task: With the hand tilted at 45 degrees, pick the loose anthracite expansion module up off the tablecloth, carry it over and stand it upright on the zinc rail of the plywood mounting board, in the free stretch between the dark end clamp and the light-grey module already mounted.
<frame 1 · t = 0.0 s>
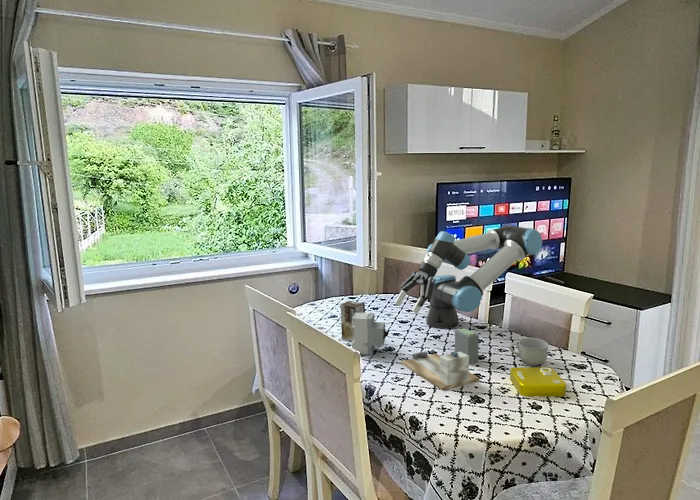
hand: (405, 308, 214), 15 cm above the table, tool tilted 35°, fingers open, 13 cm apart
rail plate: (438, 371, 187), on the table
circuit breaker: (370, 351, 209), on the table
element tile: (536, 388, 174), on the table
coffee box: (353, 339, 223), on the table
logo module: (466, 359, 198), on the table
teacup: (527, 362, 195), on the table
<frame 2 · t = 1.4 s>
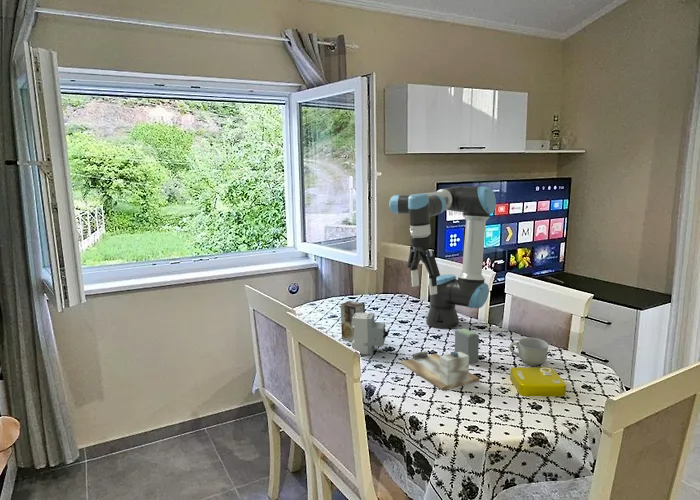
hand: (424, 290, 195), 28 cm above the table, tool pointing down, fingers open, 13 cm apart
nothing on the table moved.
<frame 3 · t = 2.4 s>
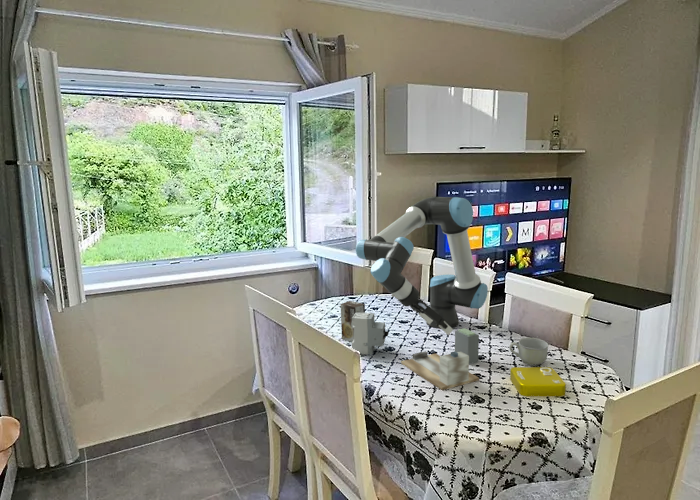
hand: (440, 326, 191), 15 cm above the table, tool tilted 45°, fingers open, 13 cm apart
nothing on the table moved.
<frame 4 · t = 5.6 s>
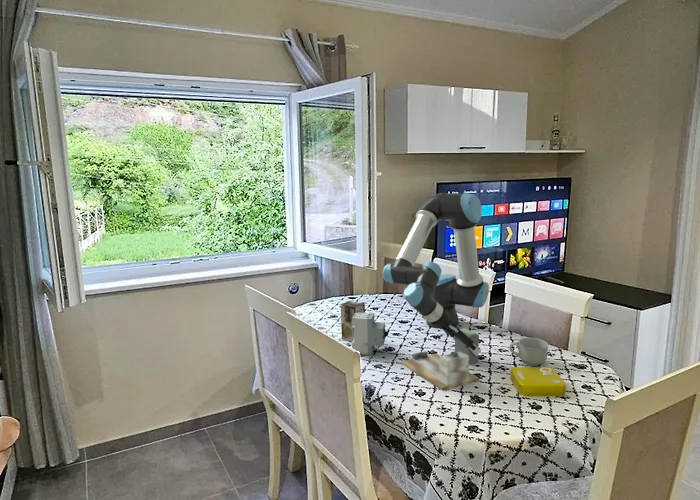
hand: (471, 349, 198), 4 cm above the table, tool tilted 45°, fingers closed on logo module, 8 cm apart
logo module: (466, 359, 198), on the table, touching gripper
everything else where it was.
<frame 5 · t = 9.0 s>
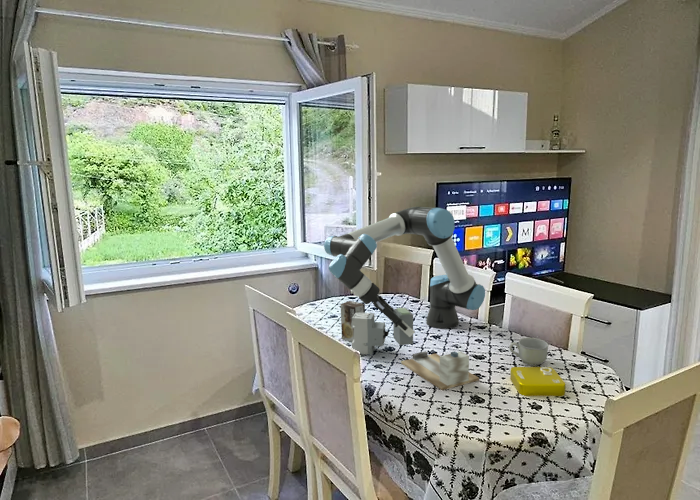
hand: (409, 330, 186), 16 cm above the table, tool tilted 45°, fingers closed on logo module, 8 cm apart
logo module: (403, 340, 186), point 12 cm above the table, touching gripper
everything else where it was.
when the fingers open (6 cm above the table, at t = 12.4 s): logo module stays where it is, resting on rail plate.
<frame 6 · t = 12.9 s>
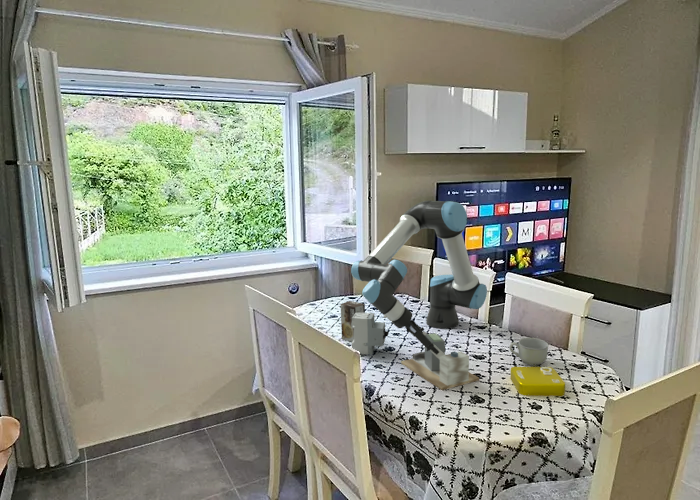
hand: (438, 351, 189), 7 cm above the table, tool tilted 45°, fingers open, 13 cm apart
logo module: (434, 366, 189), point 1 cm above the table, touching rail plate
everything else where it was.
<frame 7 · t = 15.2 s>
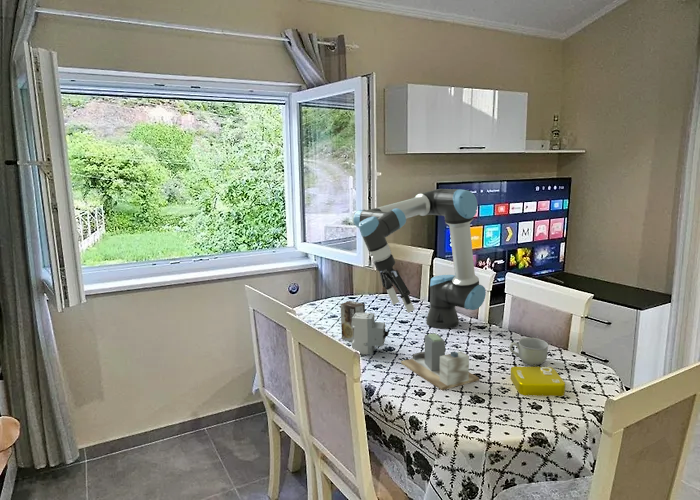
hand: (403, 306, 194), 22 cm above the table, tool tilted 20°, fingers open, 13 cm apart
nothing on the table moved.
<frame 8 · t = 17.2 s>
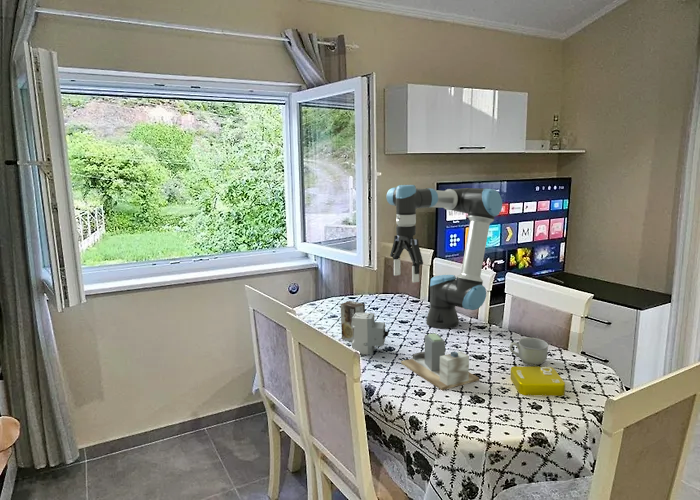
hand: (406, 278, 201), 31 cm above the table, tool pointing down, fingers open, 13 cm apart
nothing on the table moved.
at the end: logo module inside the target area (0.0 cm from its centre), point 1.1 cm above the table; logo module tilted 0°; the gripper is holding nothing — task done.
